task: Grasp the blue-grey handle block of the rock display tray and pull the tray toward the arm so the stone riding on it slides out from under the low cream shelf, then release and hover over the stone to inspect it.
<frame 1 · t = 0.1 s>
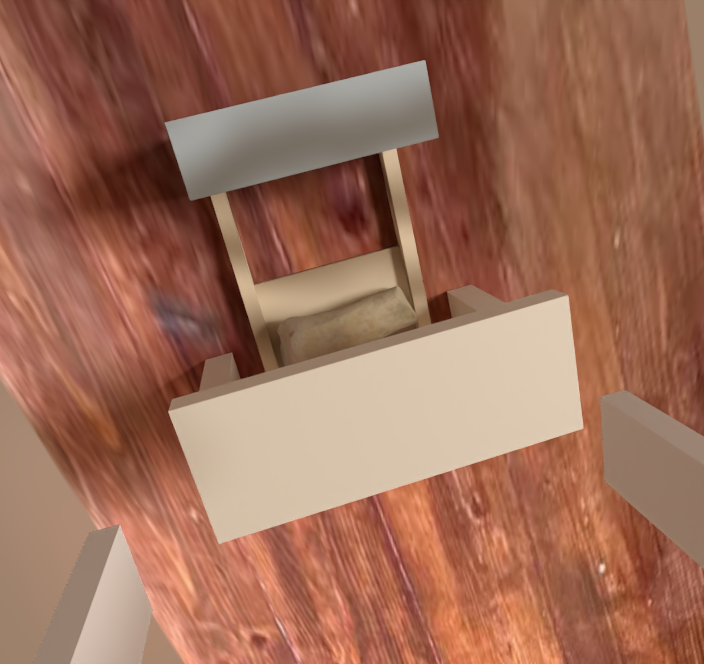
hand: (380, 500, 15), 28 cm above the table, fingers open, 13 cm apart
rock display tray: (338, 284, 37), point 4 cm above the table, slide at 0.0 cm, touching stone
shelf: (346, 339, 43), on the table
stone: (343, 332, 43), resting on rock display tray
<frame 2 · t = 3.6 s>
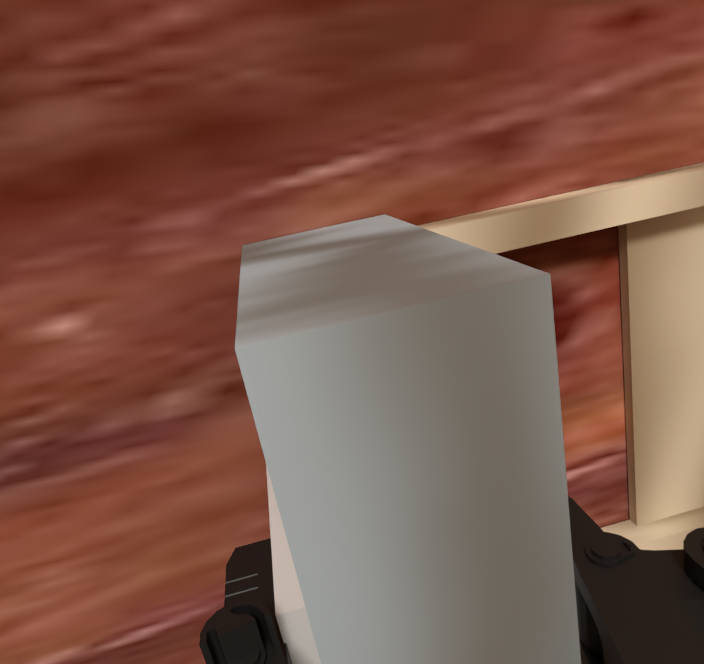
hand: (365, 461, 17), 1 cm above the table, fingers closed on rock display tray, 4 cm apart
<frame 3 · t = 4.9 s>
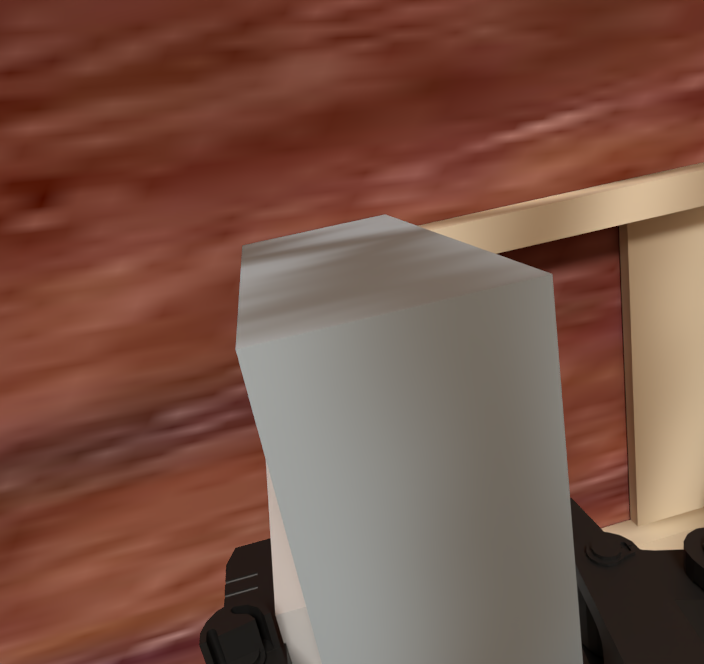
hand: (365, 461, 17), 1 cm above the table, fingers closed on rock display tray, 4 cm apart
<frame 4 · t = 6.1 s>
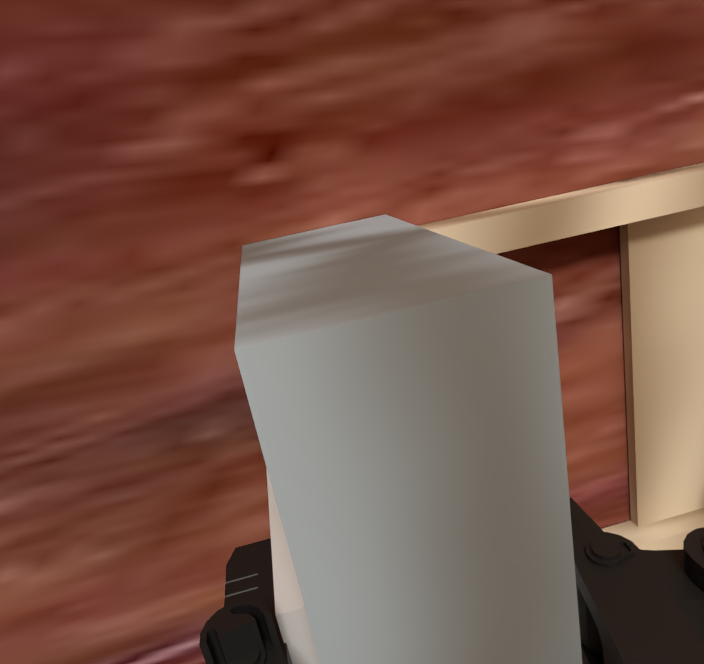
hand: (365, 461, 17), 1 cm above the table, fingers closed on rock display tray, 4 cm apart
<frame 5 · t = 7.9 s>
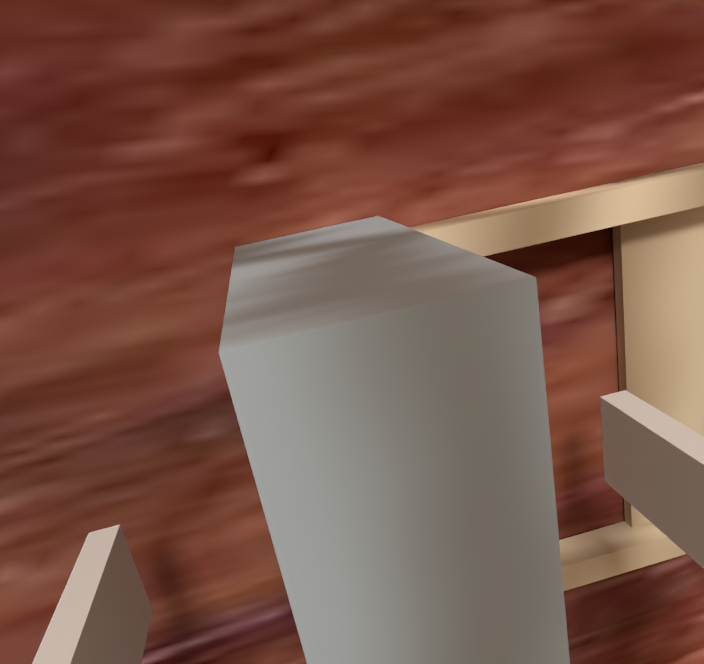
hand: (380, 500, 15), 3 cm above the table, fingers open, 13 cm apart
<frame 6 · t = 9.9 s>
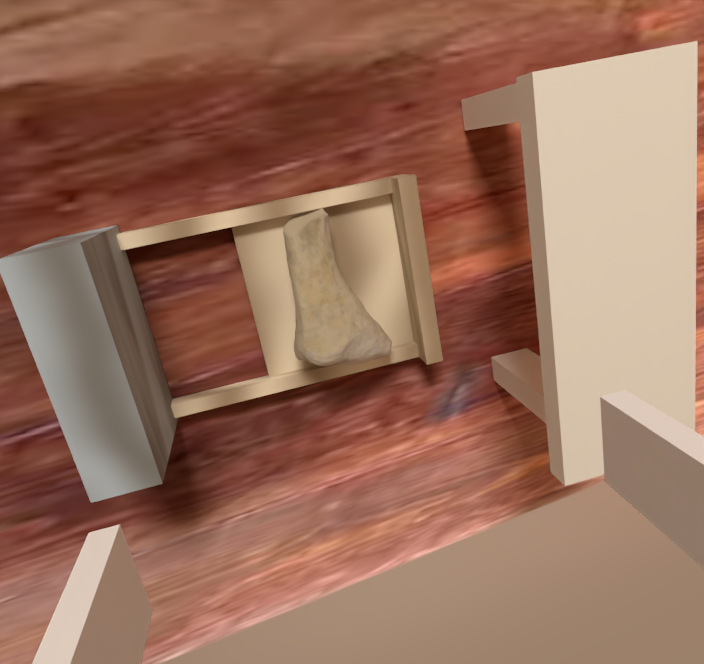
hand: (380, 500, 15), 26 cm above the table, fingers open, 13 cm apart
rock display tray: (261, 317, 35), point 5 cm above the table, slide at 12.5 cm, touching stone
shelf: (497, 246, 41), on the table
stone: (327, 286, 40), resting on rock display tray
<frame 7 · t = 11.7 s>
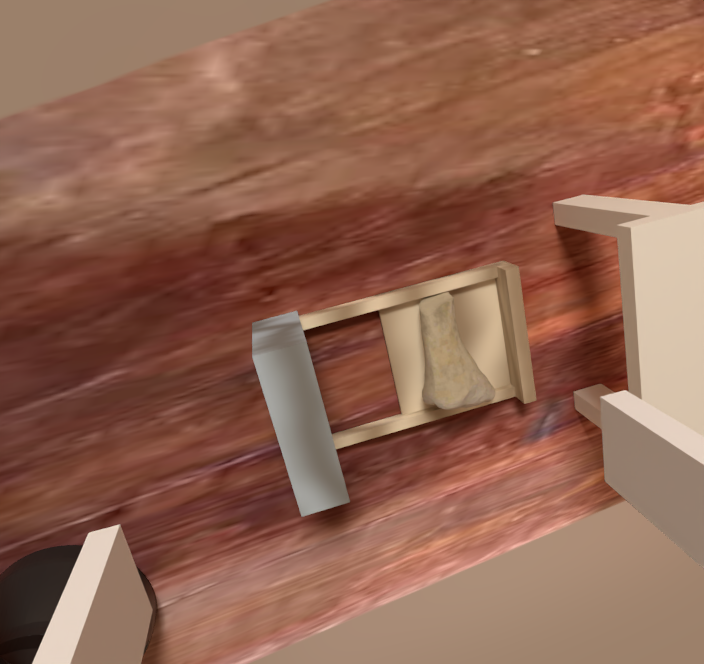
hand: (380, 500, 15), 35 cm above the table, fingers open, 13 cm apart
rock display tray: (408, 377, 48), point 5 cm above the table, slide at 13.0 cm, touching stone
shelf: (579, 308, 53), on the table
stone: (445, 346, 52), resting on rock display tray
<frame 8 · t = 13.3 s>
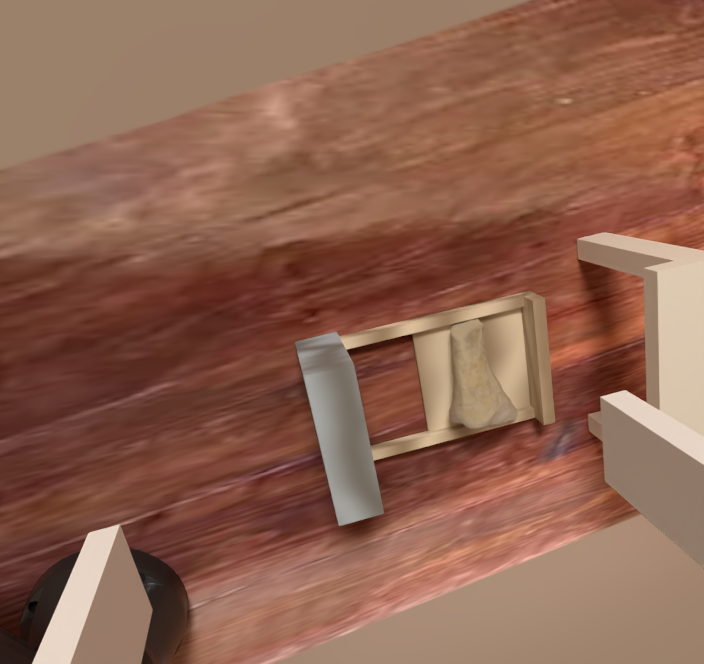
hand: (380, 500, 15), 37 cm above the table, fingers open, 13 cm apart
rock display tray: (440, 398, 51), point 4 cm above the table, slide at 13.0 cm, touching stone
shelf: (596, 336, 57), on the table
stone: (471, 369, 55), resting on rock display tray
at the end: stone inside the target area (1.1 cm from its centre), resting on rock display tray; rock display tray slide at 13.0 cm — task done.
